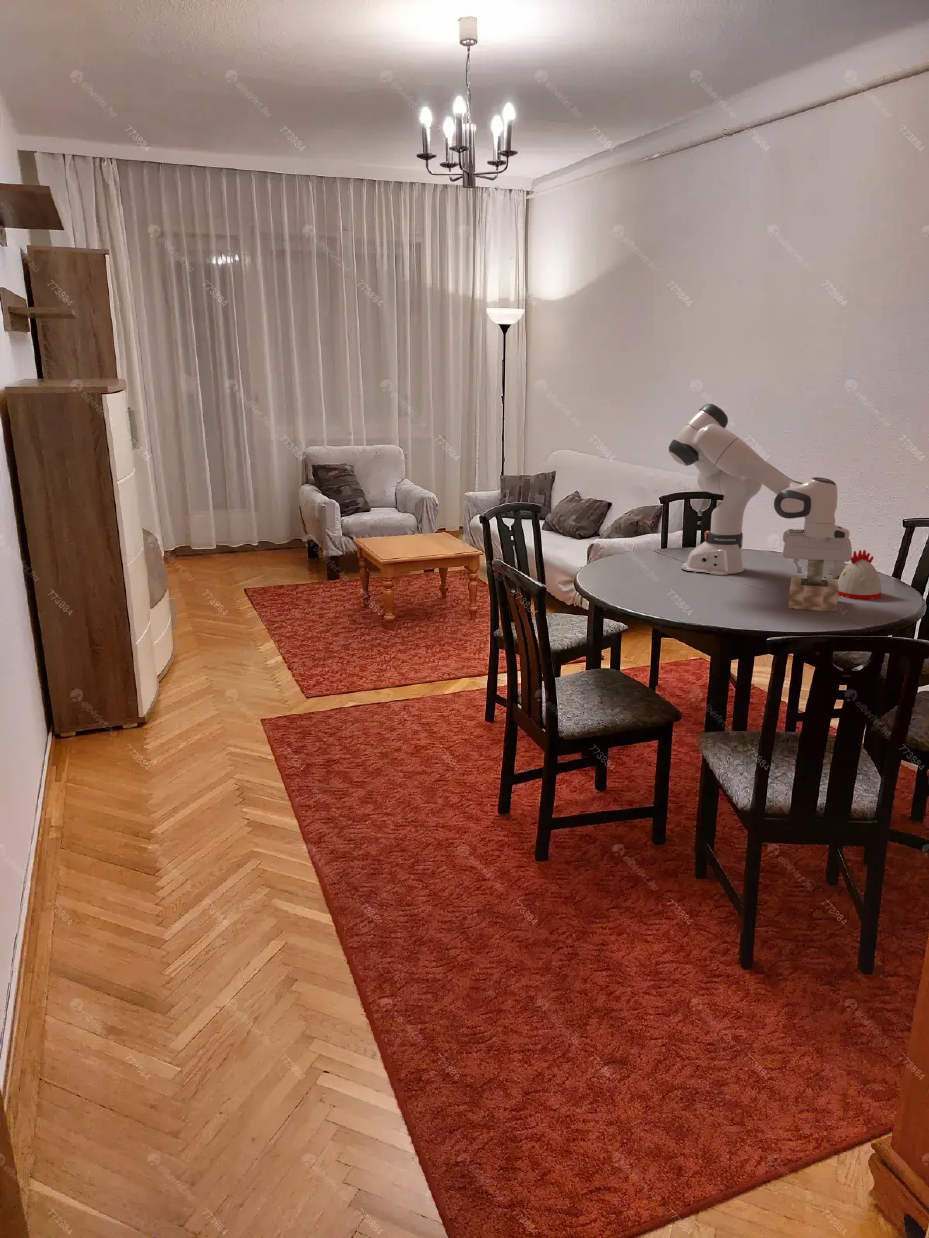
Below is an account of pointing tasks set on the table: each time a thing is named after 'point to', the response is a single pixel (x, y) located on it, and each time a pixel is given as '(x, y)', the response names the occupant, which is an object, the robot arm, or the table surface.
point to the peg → (815, 571)
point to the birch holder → (813, 594)
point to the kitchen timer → (860, 578)
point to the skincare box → (829, 565)
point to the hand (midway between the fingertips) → (815, 573)
